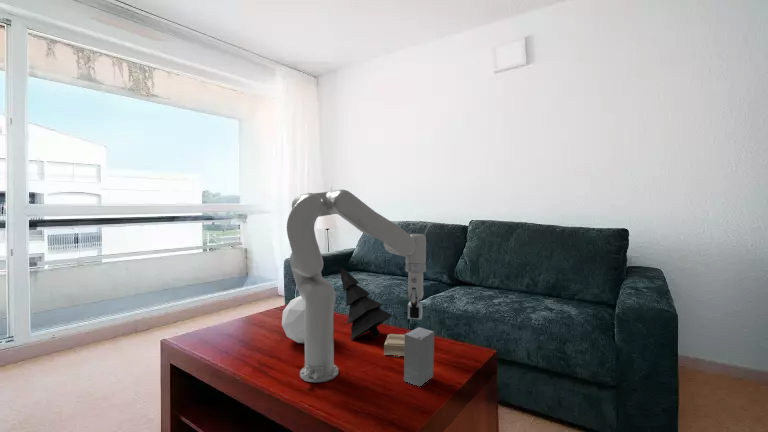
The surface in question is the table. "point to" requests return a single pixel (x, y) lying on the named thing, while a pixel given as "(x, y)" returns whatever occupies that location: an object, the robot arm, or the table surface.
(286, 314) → the geometric sculpture
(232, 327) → the table surface
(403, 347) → the plinth
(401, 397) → the table surface
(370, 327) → the decorative tree
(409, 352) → the skincare box
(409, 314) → the block
